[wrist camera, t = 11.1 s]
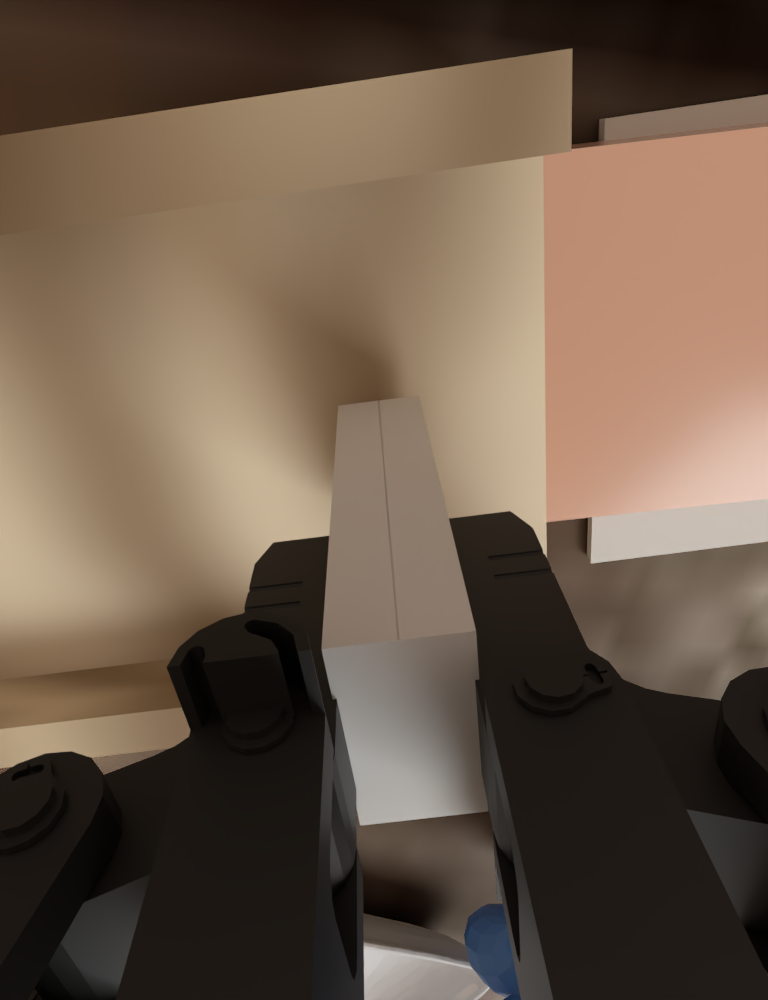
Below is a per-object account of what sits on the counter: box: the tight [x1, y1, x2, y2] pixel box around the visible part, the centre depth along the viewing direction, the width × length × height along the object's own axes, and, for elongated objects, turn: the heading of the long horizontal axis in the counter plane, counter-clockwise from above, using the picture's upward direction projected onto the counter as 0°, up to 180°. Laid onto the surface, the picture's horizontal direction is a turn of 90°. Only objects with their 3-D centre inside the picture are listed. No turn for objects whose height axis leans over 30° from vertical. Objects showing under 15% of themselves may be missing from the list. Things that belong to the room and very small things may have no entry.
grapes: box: [464, 904, 521, 1000], centre depth 22 cm, size 12×7×12 cm, turn 91°
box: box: [0, 48, 573, 768], centre depth 15 cm, size 18×12×7 cm, turn 97°
